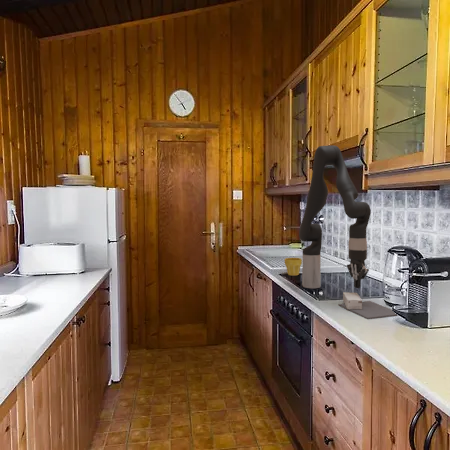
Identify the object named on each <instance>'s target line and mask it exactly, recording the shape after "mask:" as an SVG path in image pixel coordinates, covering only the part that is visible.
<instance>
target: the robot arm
mask: <svg viewBox="0 0 450 450" xmlns="http://www.w3.org/2000/svg"><path fill="white" fill-rule="evenodd" d="M326 166H327V167H328V166H333V167H334V169H335V170H336V181H335V187H336V189H337V192H338V193H339V195H340V197H341V200H342V204H343V209H344V213H345V215H346V216H347V217H348V218H349V219H353V220H354V219H356V221H355V222H354V223H352V224H350V225H349V228H348V231H349V232H348V235H349V236H348V250H347V251H348V259H349V264H346V269H348V273H349V275H350V277H351V278H352V279H353V287H354V288H355V289H360V288H361V287H362V283H361V282H362V280H365V278H366V276H367V274H368V273H369V271H370V269H369V268H367V267H366V262H365V261H366V260H367V259H368V255H367V254H368V242H367V228H368V224H369V222H370V217H371V213H372V212H371V211H372V210H371V206H370V204H369V203H368V202H366V201H356V199H358V197H359V192H358V190H357V188H356V186H355V184H354V182H353V181H352V178H351V177H350V174H349V172H348V169H347V165H346V163H345V160H344V155H343V153H342V150H341V149H340V148H339V147H338V146H337V145H334V144H332V145H320V146H318V147H317V148H316V149H315V153H314V157H313V166H312V172H311V173H312V175H311V180H310V185H309V189H308V193H307V199H306V205H305V210H304V212H303V213H304V214H303V217H302V220H301V224H300V226H299V233H298V237H299V240H300V242H301V241H302V242H309V243H310V242H311V244H310V245H308V246H305V247H304V248H303V249H302V269H301V272H302V274H301V275H302V276H301V277H302V278H301V280H302V281H301V284H302V287H303V288H306V289H320V288H321V280H322V279H321V276H322V275H321V271H322V269H321V262H322V261H321V260H322V259H321V254H322V253H321V251H322V241H323V229H322V226H321V225H320V224H319V223H312V222H313V221H314V218H315V217H316V216H317V215H318V214H319V213H320V212H321V211H322V210H323V209H324V207H325V205H326V203H327V198H328V195H329V189H328V186H327V183H326V180H325V178H324V171H325V168H326Z"/></svg>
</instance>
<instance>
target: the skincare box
mask: <svg viewBox="0 0 450 450" xmlns="http://www.w3.org/2000/svg"><path fill="white" fill-rule="evenodd" d="M342 302H343V304H344V303H345V305H346V307H347V309H361V310H362V302H363V299H362V298H361V296H360V295H359V294H358V293H357V292H344V291H343V294H342ZM347 309H346V310H347Z"/></svg>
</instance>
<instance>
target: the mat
mask: <svg viewBox="0 0 450 450" xmlns="http://www.w3.org/2000/svg"><path fill="white" fill-rule="evenodd" d="M338 306H339V307H341V308H343V309H345V310H347V311H349V312H352V313H353V314H356V315H358V316H359V317H362V318H364V319H367V320H372V319H380V318H389V317H397V314H395V313H394V312H393V311H392V310H393V309H392V308H389V307H387V306H384V305H381V304H379V303H376V302H373V301H372V300H367V301H362V310H361V309H347V307H346V305H345V303H344V302H343V303H338Z"/></svg>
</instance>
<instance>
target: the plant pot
mask: <svg viewBox="0 0 450 450" xmlns="http://www.w3.org/2000/svg"><path fill="white" fill-rule="evenodd" d="M284 265H285V267H286V271H287V275H288V276H291V277H292V276H293V277H294V276H298V275H300V270H301V266H302V265H303V258H300V257H287V258H284Z"/></svg>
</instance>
